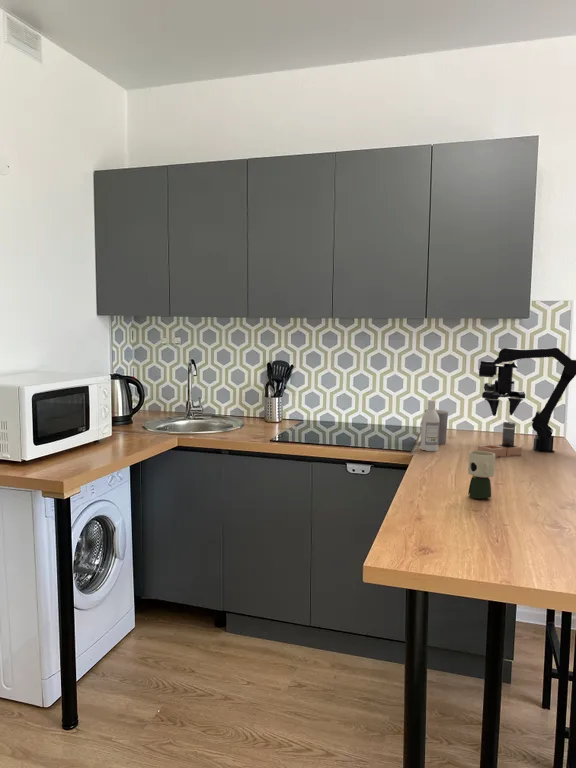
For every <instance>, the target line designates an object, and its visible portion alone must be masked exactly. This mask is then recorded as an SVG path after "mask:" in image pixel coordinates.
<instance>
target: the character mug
mask: <svg viewBox="0 0 576 768" xmlns="http://www.w3.org/2000/svg"><path fill="white" fill-rule="evenodd" d="M495 465H496V457H495V454H494V453H492V452H487V451H478V450H469V452H468V467H467V472H468V473H467V474H468V475H470V476H472V477H471V479H470V482H469V487H468V495H467V496H469V497H470V498H474V499H480V500H483V499H489V498H492V484H491V483H492V482H491V479H490V478H493V477H494V476H495V470H496V469H495V467H496V466H495Z"/></svg>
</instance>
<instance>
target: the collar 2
mask: <svg viewBox="0 0 576 768" xmlns="http://www.w3.org/2000/svg"><path fill="white" fill-rule="evenodd" d="M495 445H496V446H499V447H503V446H502V443H499V444H495ZM503 448H507V447H503ZM522 449H523V447H522V446H519V445H516V444H514V447H511V448H507V449H506V456H505V457H509V456H511V455H512V456H521V455H522V453H523V452H522ZM512 456H511V457H512Z"/></svg>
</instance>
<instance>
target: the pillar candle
mask: <svg viewBox="0 0 576 768" xmlns="http://www.w3.org/2000/svg"><path fill="white" fill-rule="evenodd" d="M426 410H427V409H425V410H424V413H425V412H426ZM435 410H436V412H437V414H438V416H439V421H440V424H439V442H438V444H444V445H446V444H447V433H448V418H449V417H448V415H449V411H446V410H442V409H437V408H435ZM445 443H446V444H445Z"/></svg>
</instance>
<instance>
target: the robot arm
mask: <svg viewBox="0 0 576 768" xmlns="http://www.w3.org/2000/svg"><path fill="white" fill-rule="evenodd" d="M539 358H540V359H541V358H554V359H555V360H557V361H558V362H559V363H560V364H561V365H562V366H563V370H562V373H561V376H560V379H559V380H558V382H557V383H556V386H555V387H554V388H553V390H552V391H553V392H552V393H551V395H550V396H549V398H548V400H547V401H546V404H545V405H544V407H543V408H542V409H541V411H539V410H536V412H535V416H534V417H532V419H531V423H532V424H531V427H532V430H533V431H535V432H536V434H535V435H534V436H535V437H534V438H533V445H532V446H533V447H532V449H534V451H537V452H543V453H544V452H545V453H546V452H547V453H555V450H554V441H555V440H554V437H555V436H553V432H554V430H553V428H552V427H551V426H550V425H549V422H550V420H551V416H552V413H553V412H554V410H555V408H556V406H557V404H558V403H559V402H560V399H561V398H562V396H563V394H564V392H565V391H566V389H567V387H568V385H569V384H570V383H571V381H572V380H574V378H575V377H576V359H574V358H571V357H570V356H568V355H567V354H565V352H564V351H562V350H561V349H560V348H559V347H557V346H555V347H551V348H550V347H549V348H548V347H545V348H532V349H531V348H529V349H521V348H519V349H518V348H510V347H505V348H502V349H500V351H499V352H498V356H497V358H496V359H494V361H489V360H488V361H487V360H480V365H479V368H478V376H479V378H480V377H481V378H494V376H497V379H496V380H494V383H490V382H485V383H484V384H483V390H484V391H483V392H482V394H481V395H482V396H481V397H482V399H484V400H485V401H486V402H488V404H489V407H490V411H491V412H492V413H491V414H492V416H493V417H495V416H496V415H497V412H498V408H499V404H500V399H499V398H507V400H508V401H509V411H508V412H509V416H513V414H514V413H515V411H516V410H517V408H518V406H520V403H521V402H523V400H524V399H526V393H525V391H522V390H513V387H512V386H513V385H514V384H515V381H514V380H513V371H514V369H517V368H518V367H519V366H518V365H517V364H516V362H515V361H517V360H518V361H519V360H523V359H539ZM508 362H512V363H508ZM502 363H504V364H503V365H501V364H502Z"/></svg>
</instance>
